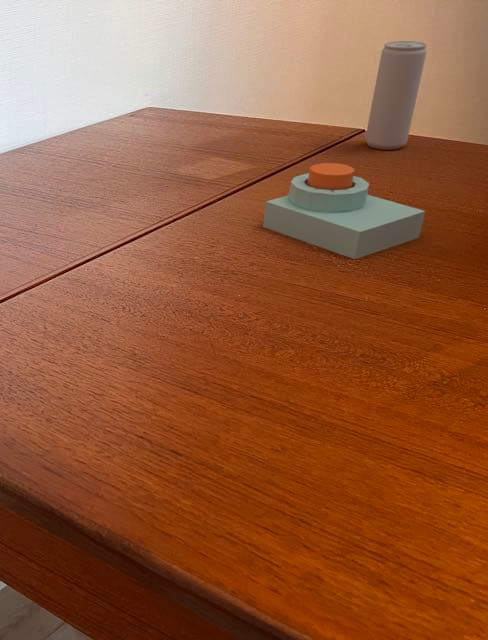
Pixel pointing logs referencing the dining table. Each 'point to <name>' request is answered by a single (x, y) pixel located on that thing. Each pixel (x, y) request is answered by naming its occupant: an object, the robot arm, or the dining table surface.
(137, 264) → the dining table surface
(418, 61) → the beverage can
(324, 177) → the button
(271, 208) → the control box
